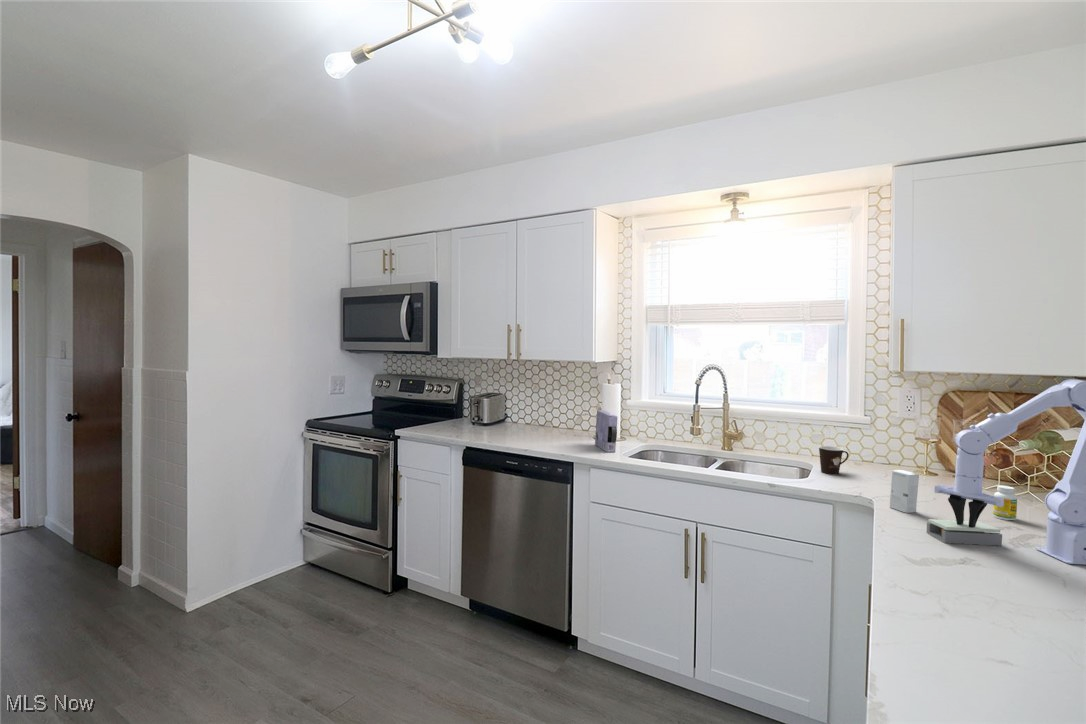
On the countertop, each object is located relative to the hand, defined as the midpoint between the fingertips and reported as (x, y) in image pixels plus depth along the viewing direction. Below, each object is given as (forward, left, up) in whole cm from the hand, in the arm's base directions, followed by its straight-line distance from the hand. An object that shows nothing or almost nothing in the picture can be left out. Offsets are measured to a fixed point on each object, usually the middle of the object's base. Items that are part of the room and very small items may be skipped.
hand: (965, 525), depth 140 cm
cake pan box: (+106, +92, -4) cm, 141 cm away
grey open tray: (+1, 0, -4) cm, 4 cm away
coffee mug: (+74, 0, -4) cm, 74 cm away
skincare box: (+26, +1, -4) cm, 27 cm away
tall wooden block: (+1, 0, -4) cm, 4 cm away
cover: (+1, 0, -1) cm, 1 cm away
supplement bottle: (+22, -26, -4) cm, 35 cm away
